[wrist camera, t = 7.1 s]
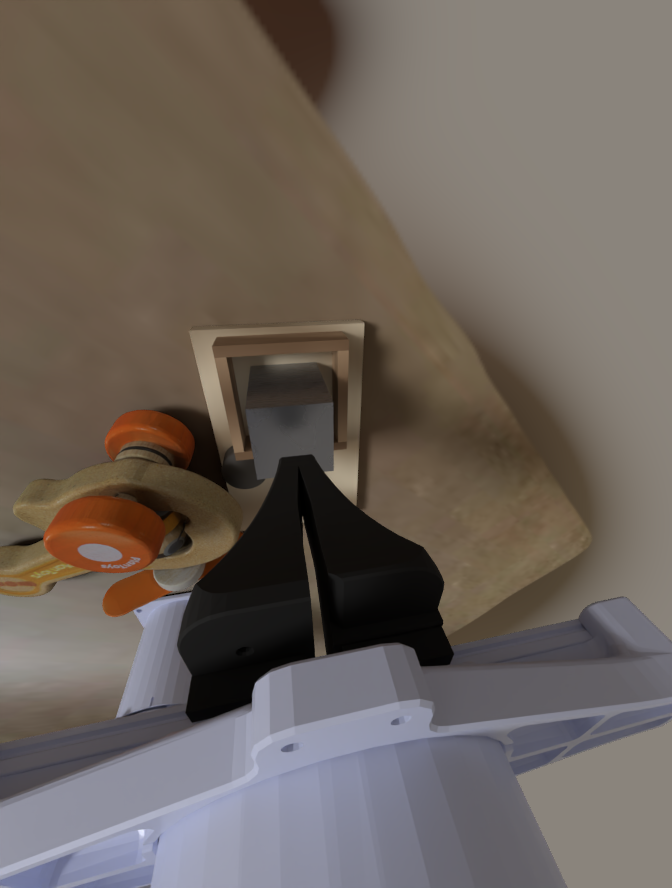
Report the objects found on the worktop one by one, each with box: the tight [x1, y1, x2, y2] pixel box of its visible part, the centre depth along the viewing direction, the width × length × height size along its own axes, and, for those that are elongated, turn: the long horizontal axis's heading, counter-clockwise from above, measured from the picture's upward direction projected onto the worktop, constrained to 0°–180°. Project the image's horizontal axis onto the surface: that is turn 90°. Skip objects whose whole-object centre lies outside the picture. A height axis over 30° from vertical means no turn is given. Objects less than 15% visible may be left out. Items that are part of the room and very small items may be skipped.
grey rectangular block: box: [245, 362, 334, 480], centre depth 18 cm, size 4×4×6 cm
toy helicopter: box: [0, 410, 243, 617], centre depth 23 cm, size 8×21×14 cm
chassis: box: [189, 320, 365, 531], centre depth 22 cm, size 16×10×3 cm, turn 1°
